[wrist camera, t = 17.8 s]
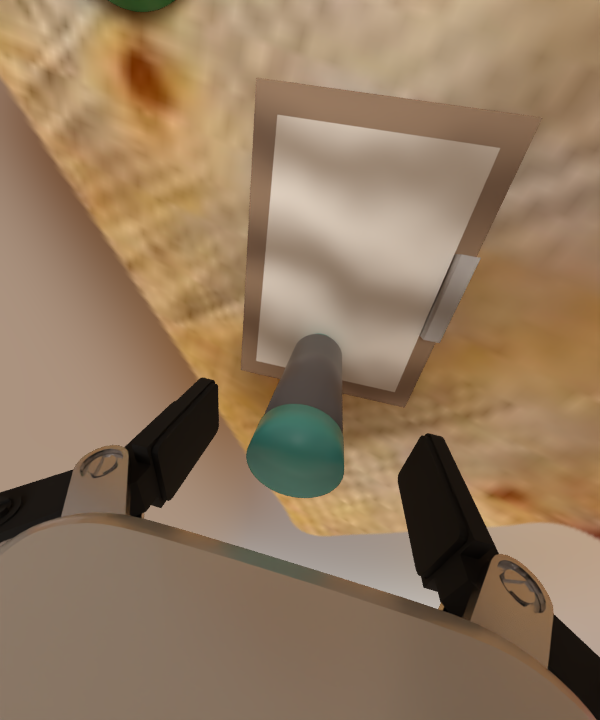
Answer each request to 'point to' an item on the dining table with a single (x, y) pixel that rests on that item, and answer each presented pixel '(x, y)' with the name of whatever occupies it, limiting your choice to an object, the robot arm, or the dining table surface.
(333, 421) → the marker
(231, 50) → the dining table surface
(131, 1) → the tape roll
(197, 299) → the dining table surface
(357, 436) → the dining table surface
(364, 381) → the clipboard
